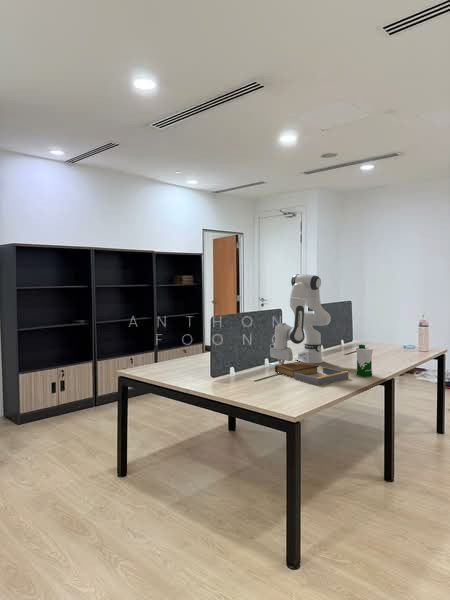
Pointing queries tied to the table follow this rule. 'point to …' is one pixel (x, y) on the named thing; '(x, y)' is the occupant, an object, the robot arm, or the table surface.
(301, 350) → the robot arm
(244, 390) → the table surface
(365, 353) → the milk carton
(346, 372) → the bay
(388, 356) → the table surface
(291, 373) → the diary
